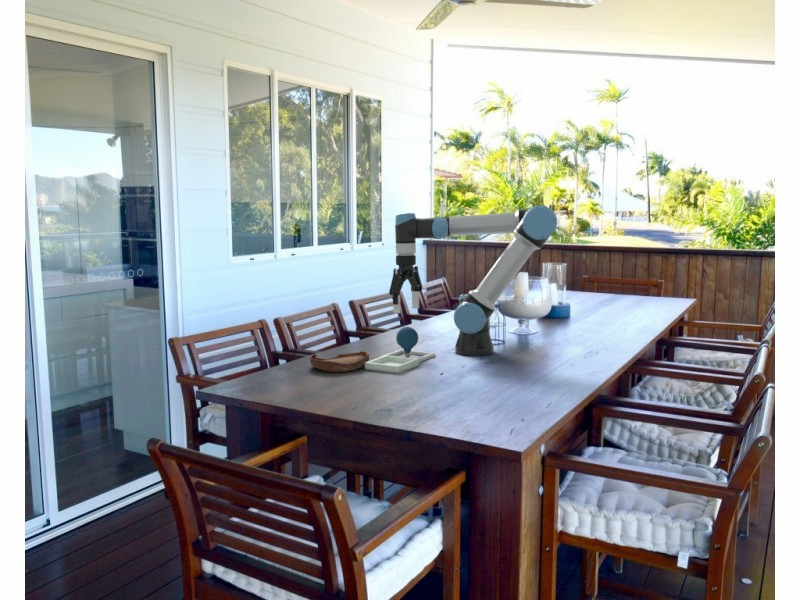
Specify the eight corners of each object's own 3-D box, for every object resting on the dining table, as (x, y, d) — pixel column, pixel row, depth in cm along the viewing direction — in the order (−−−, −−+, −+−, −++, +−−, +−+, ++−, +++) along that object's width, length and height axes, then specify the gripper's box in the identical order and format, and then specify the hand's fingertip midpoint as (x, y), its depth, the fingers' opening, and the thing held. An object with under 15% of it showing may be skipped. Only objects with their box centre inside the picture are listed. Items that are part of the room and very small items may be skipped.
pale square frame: (435, 356, 268) (435, 353, 268) (414, 364, 255) (414, 360, 255) (401, 352, 276) (401, 349, 276) (379, 359, 263) (379, 356, 263)
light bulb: (416, 360, 261) (416, 329, 259) (394, 360, 263) (393, 328, 261) (420, 355, 269) (419, 325, 267) (399, 355, 271) (398, 324, 269)
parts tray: (418, 365, 252) (418, 358, 252) (398, 373, 240) (398, 366, 240) (386, 361, 260) (386, 355, 259) (364, 369, 248) (364, 362, 248)
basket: (346, 358, 268) (346, 345, 267) (382, 366, 254) (382, 352, 253) (299, 368, 252) (298, 355, 252) (334, 377, 238) (334, 363, 238)
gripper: (414, 252, 273) (414, 305, 276) (378, 256, 252) (380, 314, 255) (430, 252, 269) (431, 307, 272) (396, 256, 248) (397, 315, 251)
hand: (406, 310), depth 263 cm, fingers open, 13 cm apart
